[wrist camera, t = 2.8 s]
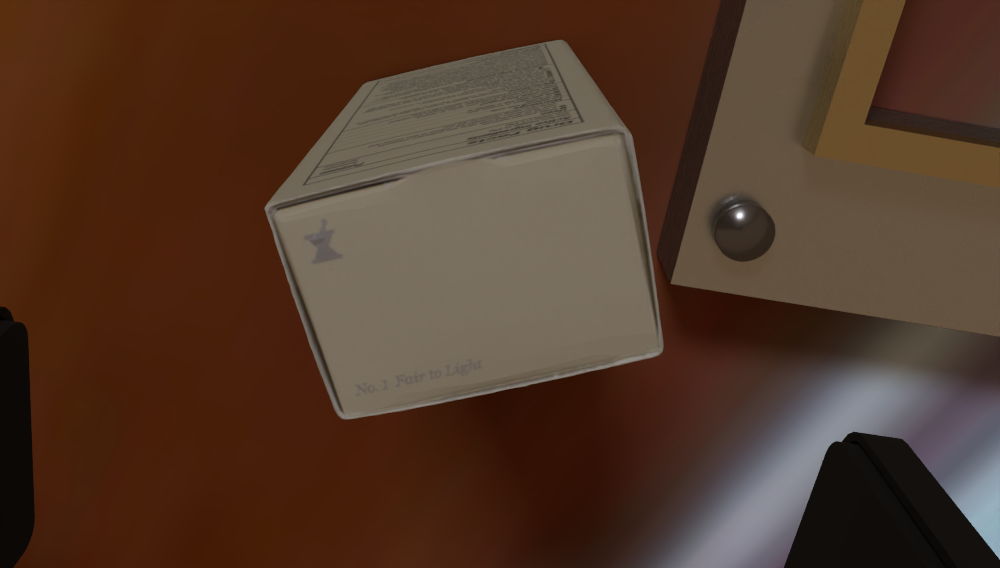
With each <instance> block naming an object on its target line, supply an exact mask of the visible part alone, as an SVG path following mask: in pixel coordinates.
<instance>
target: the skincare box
mask: <svg viewBox="0 0 1000 568" xmlns="http://www.w3.org/2000/svg"><path fill="white" fill-rule="evenodd" d="M265 211H266V214H267V217H268V220H269V223H270V226H271V228H272V231H273V235H274V239H275V242H276V246H277V249H278V252H279V254H280V257H281V260H282V264H283V266H284V269H285V272H286V276H287V279H288V282H289V284H290V287H291V291H292V295H293V297H294V300H295V303H296V306H297V308H298V311H299V314H300V316H301V319H302V322H303V326H304V329H305V331H306V334H307V337H308V340H309V344H310V347H311V349H312V351H313V354H314V357H315V360H316V363H317V365H318V368H319V370H320V373H321V375H322V378H323V380H324V383H325V386H326V388H327V391H328V393H329V396H330V398H331V401H332V404H333V407H334V410H335V411H336V413H337V415H338V416H339V417H341V418H342V419H355V418H361V417H366V416H373V415H380V414H384V413H391V412H398V411H404V410H409V409H414V408H418V407H424V406H429V405H435V404H440V403H445V402H449V401H454V400H460V399H465V398H470V397H475V396H480V395H486V394H491V393H494V392H498V391H502V390H507V389H512V388H517V387H524V386H528V385H531V384H537V383H540V382H546V381H550V380H555V379H560V378H565V377H570V376H574V375H578V374H582V373H585V372H590V371H595V370H600V369H605V368H609V367H613V366H619V365H624V364H627V363H631V362H635V361H640V360H643V359H647V358H652V357H656V356H658V355H660V354H661V353H662V352H663V347H664V344H663V336H662V329H661V322H660V315H659V307H658V299H657V293H656V284H655V275H654V268H653V262H652V255H651V248H650V241H649V234H648V227H647V220H646V214H645V207H644V201H643V195H642V189H641V183H640V177H639V171H638V166H637V160H636V155H635V149H634V143H633V138H632V135H631V133H630V131H629V130H628V129H627V127H626V126H625V125H624V124H623V122H622V121H621V119H620V118H619V117H618V115H617V114H616V112H615V111H614V110H613V108H612V107H611V106H610V104H609V103H608V101H607V100H606V98H605V97H604V95H603V94H602V93H601V91H600V90H599V88H598V87H597V85H596V84H595V82H594V81H593V80H592V78H591V77H590V75H589V74H588V72H587V71H586V70H585V68H584V67H583V65H582V64H581V62H580V61H579V59H578V58H577V57H576V55H575V54H574V52H573V51H572V50H571V48H570V47H569V45H568V44H567V43H566V42H565V41H563V40H555V41H551V42H545V43H540V44H535V45H530V46H525V47H520V48H515V49H510V50H505V51H500V52H496V53H491V54H486V55H481V56H477V57H472V58H467V59H463V60H459V61H455V62H450V63H446V64H441V65H436V66H432V67H428V68H424V69H420V70H415V71H411V72H407V73H403V74H399V75H395V76H391V77H387V78H383V79H379V80H375V81H371V82H367V83H365V84H364V85H363V86H362V87H361V88H360V89H359V90H358V92H357V93H356V94H355V95H354V97H353V98H352V99H351V101H350V102H349V103H348V104H347V106H346V107H345V108H344V109H343V110H342V112H341V113H340V114H339V115H338V117H337V118H336V119H335V120H334V121H333V123H332V124H331V125H330V127H329V128H328V129H327V130H326V132H325V133H324V134H323V135H322V137H321V138H320V139H319V140H318V142H317V143H316V144H315V145H314V146H313V147H312V149H311V150H310V151H309V152H308V154H307V155H306V156H305V158H304V159H303V160H302V161H301V162H300V164H299V165H298V166H297V168H296V169H295V170H294V171H293V173H292V174H291V175H290V177H289V178H288V179H287V180H286V181H285V182H284V183H283V185H282V186H281V187H280V188H279V189H278V191H277V192H276V193H275V194H274V196H273V197H272V198H271V200H270V201H269V202H268V203H267V205H266V207H265Z"/></svg>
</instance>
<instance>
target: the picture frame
mask: <svg viewBox="0 0 1000 568" xmlns="http://www.w3.org/2000/svg"><path fill="white" fill-rule="evenodd" d="M905 1H906V0H721V4H720V8H719V12H718V16H717V20H716V24H715V27H714V31H713V35H712V39H711V43H710V47H709V51H708V55H707V58H706V62H705V66H704V70H703V74H702V78H701V82H700V86H699V90H698V93H697V97H696V101H695V105H694V109H693V113H692V117H691V121H690V124H689V128H688V132H687V136H686V140H685V144H684V148H683V152H682V156H681V159H680V163H679V167H678V171H677V175H676V179H675V183H674V187H673V190H672V194H671V198H670V202H669V206H668V210H667V214H666V218H665V222H664V225H663V229H662V233H661V237H660V241H659V245H658V249H657V255H658V257H659V259H660V261H661V264H662V266H663V268H664V270H665V273H666V275H667V277H668V279H669V282H670V284H675V285H681V286H687V287H693V288H700V289H706V290H712V291H718V292H725V293H731V294H737V295H743V296H749V297H756V298H762V299H768V300H774V301H781V302H787V303H793V304H799V305H805V306H812V307H818V308H824V309H830V310H837V311H843V312H849V313H855V314H861V315H868V316H874V317H880V318H886V319H893V320H899V321H905V322H911V323H917V324H924V325H930V326H936V327H942V328H949V329H955V330H961V331H967V332H973V333H980V334H986V335H992V336H998V337H1000V129H995V128H989V127H983V126H978V125H972V124H966V123H961V122H955V121H949V120H944V119H938V118H932V117H927V116H921V115H915V114H910V113H904V112H898V111H893V110H887V109H881V108H876V107H870V106H871V103H872V100H873V97H874V94H875V91H876V88H877V85H878V82H879V79H880V76H881V73H882V70H883V67H884V64H885V61H886V58H887V55H888V52H889V49H890V46H891V43H892V40H893V37H894V34H895V31H896V28H897V25H898V22H899V19H900V16H901V13H902V10H903V7H904V4H905Z"/></svg>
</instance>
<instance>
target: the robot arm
mask: <svg viewBox="0 0 1000 568" xmlns="http://www.w3.org/2000/svg"><path fill="white" fill-rule="evenodd" d="M34 519H35V514H34V486H33V459H32V432H31V404H30V377H29V350H28V334H27V330H26V327H25V325H24V324H22V323H20V322H14V320H13V317H12V315H11V312H10V311H9V310H8V309H7V308H6V307H0V568H13V567H14V566H15V564H16V563H17V562H18V560H19V559H20V557H21V556H22V555H23V553H24V552H25V550H26V548H27V546H28V544H29V542H30V539H31V536H32V533H33V528H34ZM784 568H1000V560H999V558H998V557H997V556H996V555H995V553H994V552H993V551H992V549H991V548H990V547H989V546H988V544H987V543H986V542H985V541H984V539H983V538H982V537H981V536H980V534H979V533H978V532H977V531H976V529H975V528H974V527H973V526H972V524H971V523H970V522H969V521H968V519H967V518H966V517H965V516H964V514H963V513H962V512H961V511H960V509H959V508H958V507H957V506H956V504H955V503H954V502H953V500H952V499H951V498H950V497H949V495H948V494H947V493H946V492H945V490H944V489H943V488H942V487H941V485H940V484H939V483H938V482H937V480H936V479H935V478H934V477H933V475H932V474H931V473H930V472H929V470H928V469H927V468H926V467H925V465H924V464H923V463H922V462H921V460H920V459H919V458H918V457H917V455H916V454H915V453H914V452H913V450H912V449H911V448H910V446H909V445H908V444H907V443H906V442H905V441H903V440H902V439H898V438H892V437H885V436H878V435H872V434H865V433H858V432H852V433H850V434H848V435H847V436H846V437H845V438H844V440H843V441H842V442H837V441H836V442H834V443H832V444H831V445H830V446H829V448H828V450H827V452H826V454H825V457H824V460H823V462H822V465H821V468H820V471H819V473H818V476H817V479H816V481H815V484H814V487H813V490H812V492H811V495H810V498H809V501H808V503H807V506H806V509H805V512H804V514H803V517H802V520H801V522H800V525H799V528H798V531H797V533H796V536H795V539H794V542H793V544H792V547H791V550H790V553H789V555H788V558H787V561H786V563H785V566H784Z"/></svg>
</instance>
